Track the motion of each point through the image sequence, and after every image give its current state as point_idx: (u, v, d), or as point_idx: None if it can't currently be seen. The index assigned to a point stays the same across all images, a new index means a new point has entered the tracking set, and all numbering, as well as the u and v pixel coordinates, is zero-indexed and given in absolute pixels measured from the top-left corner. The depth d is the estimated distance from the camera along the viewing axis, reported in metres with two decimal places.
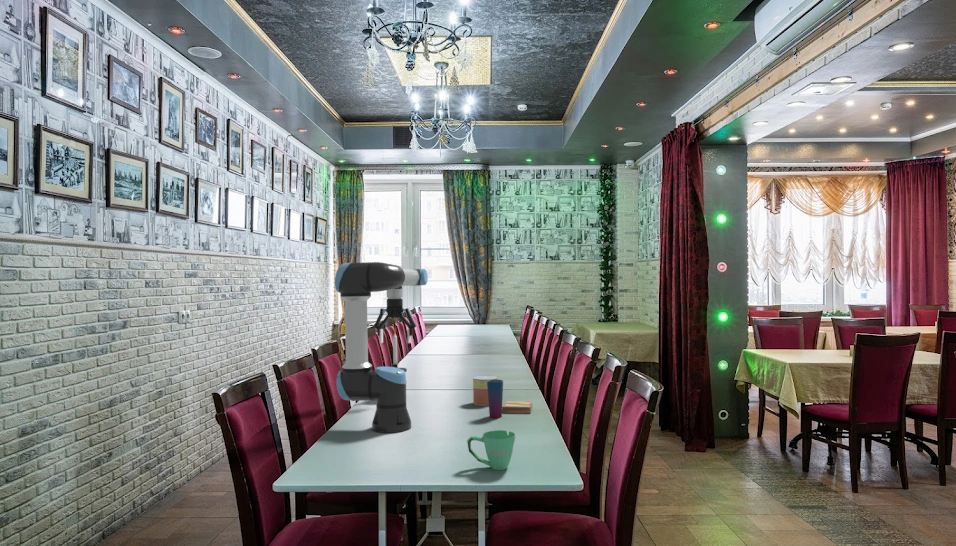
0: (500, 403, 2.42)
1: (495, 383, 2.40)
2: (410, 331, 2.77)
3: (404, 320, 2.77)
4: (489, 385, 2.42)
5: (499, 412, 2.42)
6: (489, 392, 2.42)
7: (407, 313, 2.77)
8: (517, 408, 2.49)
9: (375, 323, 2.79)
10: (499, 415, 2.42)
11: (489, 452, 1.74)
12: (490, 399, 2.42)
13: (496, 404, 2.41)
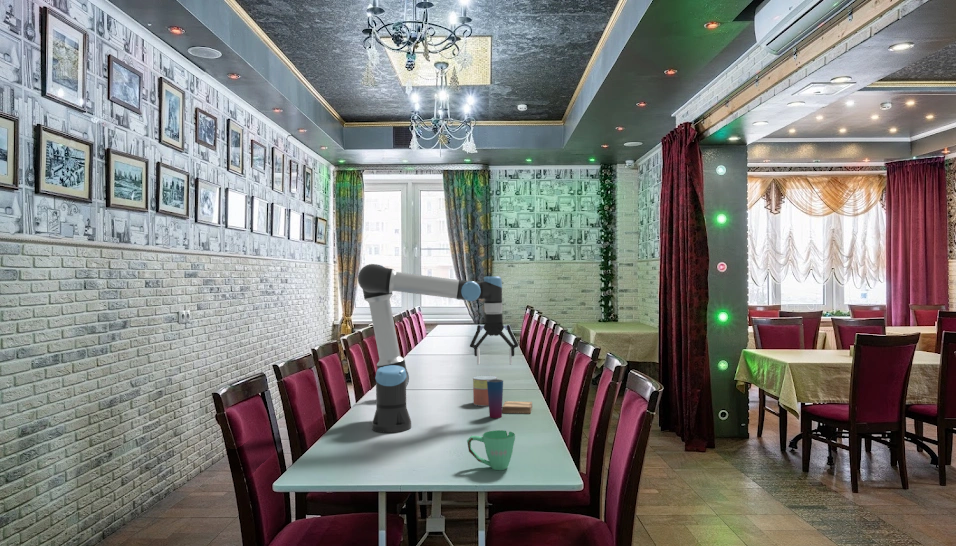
0: (500, 403, 2.42)
1: (495, 383, 2.40)
2: (512, 351, 2.42)
3: (505, 338, 2.42)
4: (489, 385, 2.42)
5: (499, 412, 2.42)
6: (489, 392, 2.42)
7: (509, 330, 2.42)
8: (517, 408, 2.49)
9: (471, 342, 2.44)
10: (499, 415, 2.42)
11: (489, 452, 1.74)
12: (490, 399, 2.42)
13: (496, 404, 2.41)
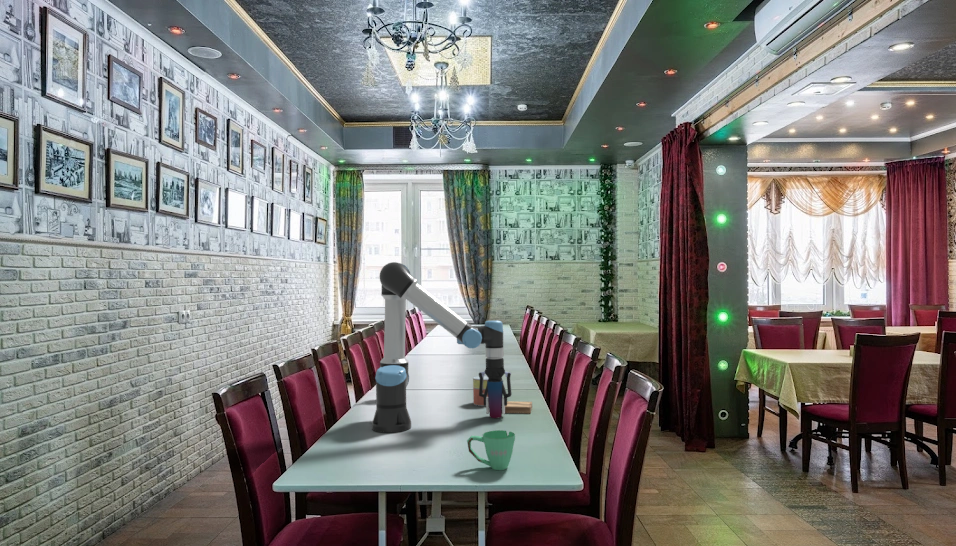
0: (500, 403, 2.42)
1: (495, 383, 2.40)
2: (504, 400, 2.42)
3: (502, 386, 2.42)
4: (489, 385, 2.42)
5: (499, 412, 2.42)
6: (489, 392, 2.42)
7: (508, 378, 2.42)
8: (517, 408, 2.49)
9: (479, 391, 2.44)
10: (499, 415, 2.42)
11: (489, 452, 1.74)
12: (490, 399, 2.42)
13: (496, 404, 2.41)
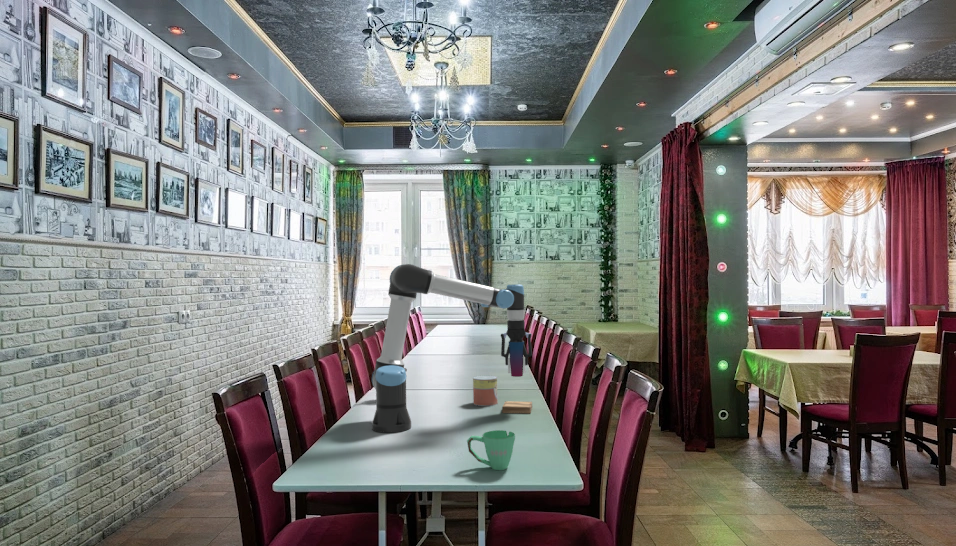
0: (521, 362, 2.54)
1: (517, 343, 2.52)
2: (525, 360, 2.54)
3: (523, 346, 2.54)
4: (511, 345, 2.53)
5: (520, 371, 2.53)
6: (511, 352, 2.54)
7: (529, 339, 2.54)
8: (517, 408, 2.49)
9: (501, 351, 2.55)
10: (520, 374, 2.53)
11: (489, 452, 1.74)
12: (512, 359, 2.53)
13: (517, 363, 2.53)
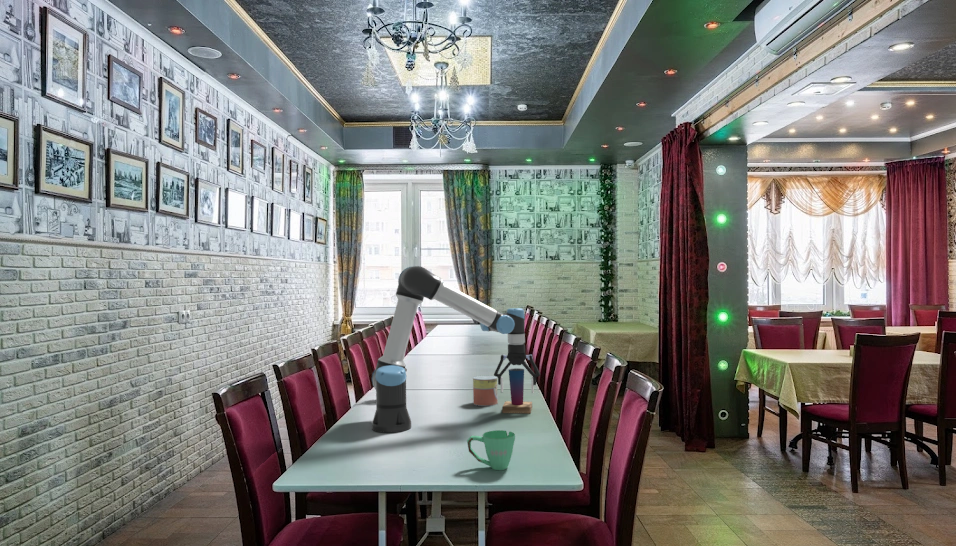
0: (521, 391, 2.53)
1: (517, 372, 2.52)
2: (534, 380, 2.54)
3: (528, 368, 2.54)
4: (511, 374, 2.53)
5: (521, 399, 2.53)
6: (511, 380, 2.53)
7: (531, 360, 2.53)
8: (517, 408, 2.49)
9: (495, 371, 2.56)
10: (521, 402, 2.53)
11: (489, 452, 1.74)
12: (512, 387, 2.53)
13: (518, 392, 2.53)
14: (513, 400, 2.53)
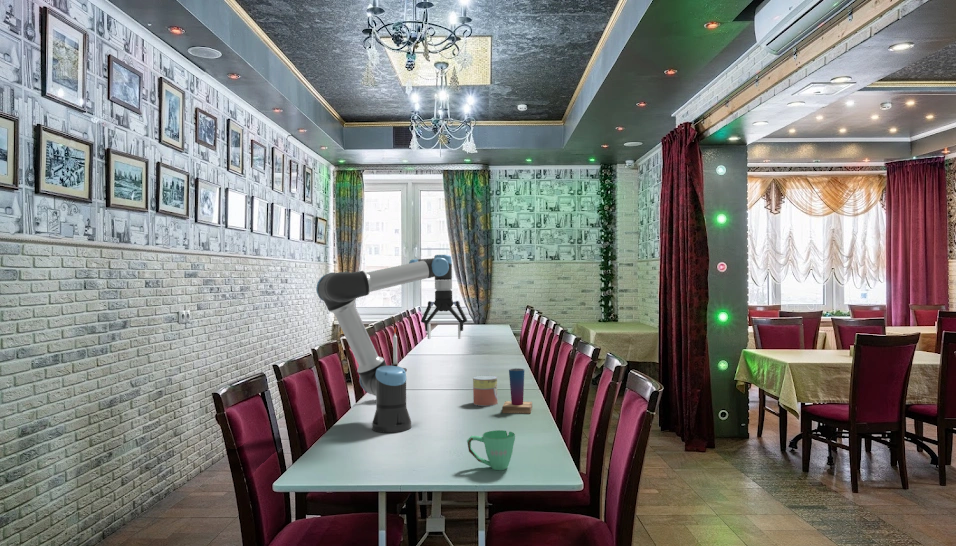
0: (522, 391, 2.53)
1: (517, 372, 2.52)
2: (460, 326, 2.54)
3: (454, 314, 2.54)
4: (511, 374, 2.53)
5: (521, 399, 2.53)
6: (511, 380, 2.53)
7: (458, 306, 2.54)
8: (517, 408, 2.49)
9: (422, 317, 2.56)
10: (521, 402, 2.53)
11: (489, 452, 1.74)
12: (512, 387, 2.53)
13: (518, 392, 2.53)
14: (513, 400, 2.53)
